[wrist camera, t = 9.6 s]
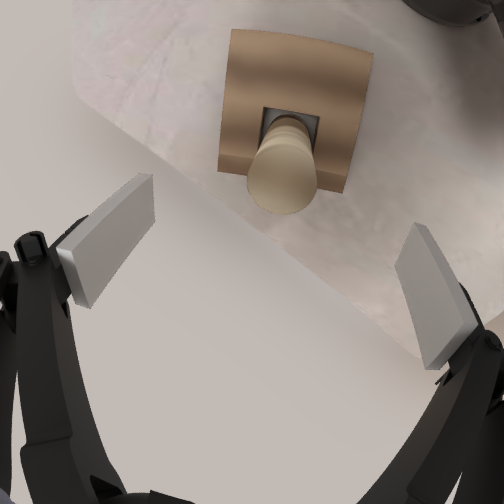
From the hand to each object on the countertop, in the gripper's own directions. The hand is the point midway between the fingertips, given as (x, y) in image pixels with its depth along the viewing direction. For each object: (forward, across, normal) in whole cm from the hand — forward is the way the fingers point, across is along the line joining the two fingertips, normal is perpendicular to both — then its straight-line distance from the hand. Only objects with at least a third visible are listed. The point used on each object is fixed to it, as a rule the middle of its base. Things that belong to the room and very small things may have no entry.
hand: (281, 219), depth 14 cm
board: (+21, 0, +3) cm, 21 cm away
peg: (+21, 0, 0) cm, 21 cm away
